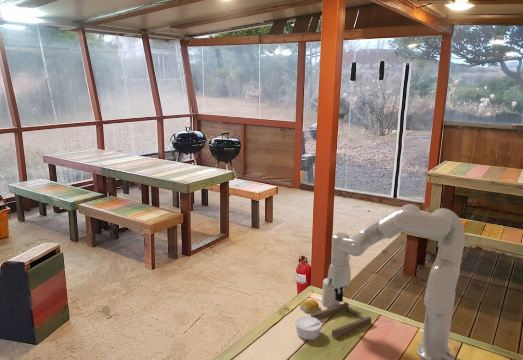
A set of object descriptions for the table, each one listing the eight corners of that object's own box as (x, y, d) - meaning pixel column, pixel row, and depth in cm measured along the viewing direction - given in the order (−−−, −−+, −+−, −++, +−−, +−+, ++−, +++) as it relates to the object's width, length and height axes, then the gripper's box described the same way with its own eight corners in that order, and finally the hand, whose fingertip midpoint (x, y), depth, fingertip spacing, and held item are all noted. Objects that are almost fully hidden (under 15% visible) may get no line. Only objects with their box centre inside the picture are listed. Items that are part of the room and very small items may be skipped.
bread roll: (322, 309, 204) (322, 301, 203) (308, 315, 199) (308, 307, 198) (310, 302, 210) (310, 294, 209) (296, 307, 205) (297, 300, 204)
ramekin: (317, 344, 176) (318, 332, 175) (291, 338, 180) (292, 326, 179) (323, 330, 186) (324, 319, 185) (299, 324, 190) (299, 313, 189)
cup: (318, 301, 211) (319, 279, 208) (332, 298, 214) (333, 276, 211) (327, 309, 203) (329, 286, 201) (341, 306, 207) (343, 283, 204)
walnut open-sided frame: (370, 323, 192) (371, 317, 191) (334, 338, 180) (334, 331, 180) (346, 308, 205) (346, 302, 204) (310, 320, 193) (310, 314, 193)
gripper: (346, 255, 192) (345, 292, 195) (321, 262, 184) (320, 301, 187) (358, 260, 185) (357, 299, 189) (332, 268, 177) (331, 308, 181)
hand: (339, 300), depth 188 cm, fingers closed
